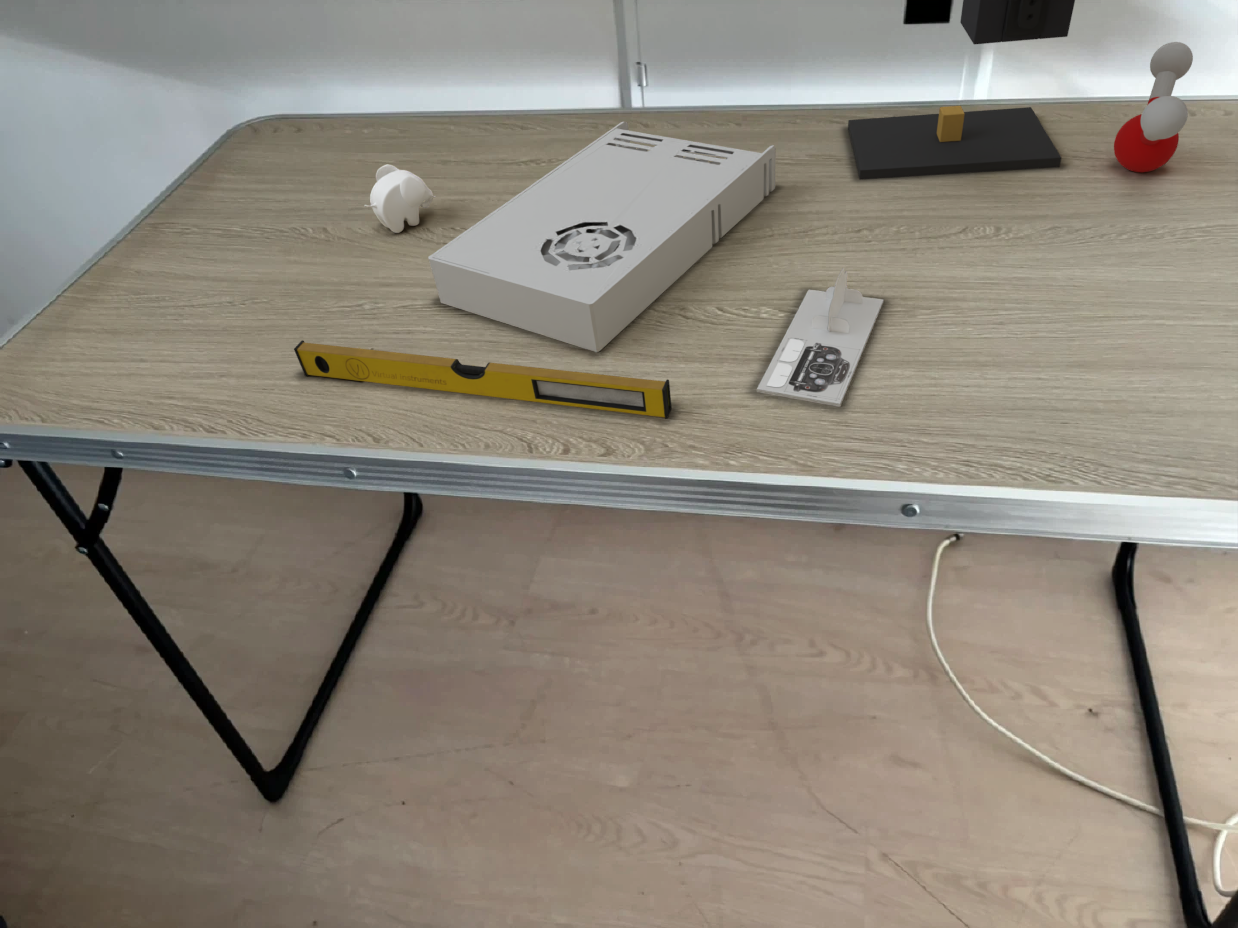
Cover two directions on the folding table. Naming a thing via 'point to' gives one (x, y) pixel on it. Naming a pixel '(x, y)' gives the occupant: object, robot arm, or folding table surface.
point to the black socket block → (989, 15)
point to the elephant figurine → (398, 197)
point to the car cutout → (822, 345)
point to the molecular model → (1156, 114)
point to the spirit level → (488, 379)
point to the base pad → (951, 143)
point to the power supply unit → (601, 235)
